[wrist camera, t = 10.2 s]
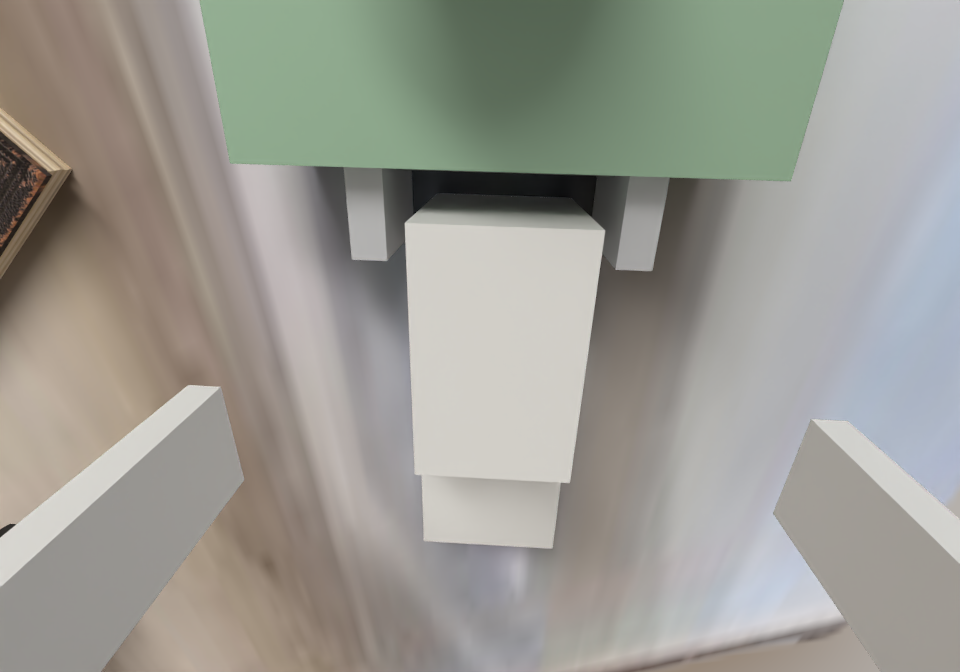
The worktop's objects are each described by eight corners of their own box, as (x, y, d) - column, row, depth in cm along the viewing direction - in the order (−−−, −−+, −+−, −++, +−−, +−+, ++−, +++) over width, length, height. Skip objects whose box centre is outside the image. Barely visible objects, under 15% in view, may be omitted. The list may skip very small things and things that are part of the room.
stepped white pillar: (547, 504, 26) (561, 626, 19) (432, 498, 26) (409, 616, 20) (582, 197, 19) (623, 230, 13) (425, 192, 19) (387, 222, 13)
